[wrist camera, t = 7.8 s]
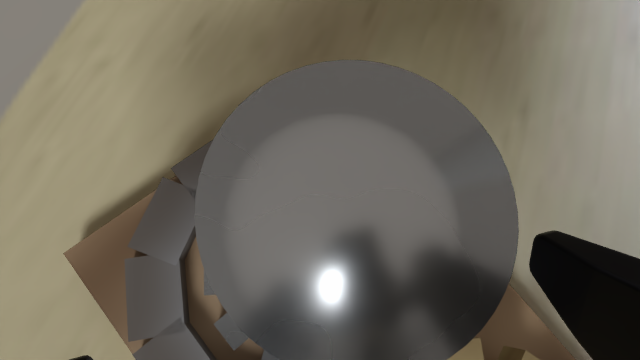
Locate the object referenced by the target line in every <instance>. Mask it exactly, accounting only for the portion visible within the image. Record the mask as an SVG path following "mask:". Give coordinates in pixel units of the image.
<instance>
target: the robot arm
mask: <svg viewBox="0 0 640 360" xmlns="http://www.w3.org/2000/svg"><path fill="white" fill-rule="evenodd" d="M529 266H530V271H531V273H532V275H533V277H534V278H535V280H536V281H537V283H538V284H539V286H540V287H541V289H542V290H543V291H544V293H545V294H546V296H547V297H548V299H549V300H550V302H551V303H552V305H553V306H554V308H555V309H556V311H557V312H558V314H559V315H560V317H561V318H562V320H563V321H564V322H565V324H566V325H567V327H568V328H569V330H570V331H571V332H572V334H573V335H574V337H575V338H576V339H577V340H578V342H579V343H580V344H581V345H582V347H583V348H584V349H585V350H586V352H587V353H588V354H589V355H590V357H591V358H592V359H593V360H640V259H639V258H636V257H633V256H630V255H627V254H624V253H621V252H618V251H615V250H612V249H609V248H606V247H603V246H600V245H597V244H594V243H591V242H589V241H586V240H583V239H580V238H577V237H574V236H571V235H568V234H565V233H562V232H559V231H549V232H545V233H541V234H538V235H536V237H535V238H534V241H533V246H532V251H531V257H530V262H529ZM70 360H93V359H92V358H91V357H90V356H88V355H86V356H81V357H77V358H73V359H70Z"/></svg>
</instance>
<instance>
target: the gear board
mask: <svg viewBox="0 0 640 360" xmlns="http://www.w3.org/2000/svg"><path fill="white" fill-rule="evenodd" d="M212 141H213V140H212ZM212 141H210V142H209V143H207V144H206V145H204V146H203V147H201V148H200V149H198V150H197V151H195V152H194V153H193V154H191V155H190V156H188V157H187V158H185V159H184V160H182V161H181V162H179V163H178V164H176V165H175V166H174V167H172V168H171V169H172V171H173V172H174V173H175V175H176V176H175V177H173V178H172V179H170V180H169V179H166V178H164V177H163V178H162V180H161V182H160V184H159V186H158V188H157V189H156V190H154V191H153V192H152V193H150V194H149V195H147V196H146V197H144V198H143V199H141V200H140V201H138V202H137V203H136V204H134V205H133V206H131V207H130V208H128V209H127V210H125V211H124V212H123V213H121V214H120V215H118V216H117V217H115V218H114V219H112V220H111V221H110V222H108V223H107V224H105V225H104V226H102V227H101V228H99V229H98V230H96V231H95V232H94V233H92V234H91V235H89V236H88V237H86V238H85V239H83V240H82V241H81V242H79V243H78V244H76V245H75V246H73V247H72V248H70V249H69V250H68V251H66V252H65V253H63V254H64V255H65V257H66V258H67V260H68V261H69V262H70V264H71V265H72V267H73V268H74V270H75V271H76V273H77V274H78V276H79V277H80V278H81V280H82V281H83V283H84V284H85V286H86V287H87V289H88V290H89V292H90V293H91V294H92V296H93V297H94V299H95V300H96V302H97V303H98V305H99V306H100V307H101V309H102V310H103V312H104V313H105V315H106V316H107V318H108V319H109V321H110V322H111V323H112V325H113V326H114V328H115V329H116V331H117V332H118V334H119V335H120V337H121V338H122V339H123V341H124V342H125V344H126V345H127V347H128V348H129V350H130V351H131V353H132V355H133V356H134V358H135V359H136V360H261V359H262V356H263V352H264V349H263V348H261V347H260V346H259V345H257V344H256V343H255V342H253V341H252V340H251V339H250V338H248V339H247V340H246V341H245V342H244V343H242V344H241V345H240V346H239V347H238V348H237V349H236V350H233V349H232V348H231V346H230V345H229V344H228V342H227V341H226V340H225V338H224V337H223V336H222V335H221V333H220V332H219V331H218V329H217V328H216V327H215V325H214V323H215V322H217V321H218V320H219V319H220V318H221V317H223V316H224V315H225V314H226V313H227V311H226V310H225V309H224V307H223V306H222V305H221V303H220V301H219V299H218V298H217V296H216V295H204V267H203V265H202V261H201V257H200V253H199V249H198V244H197V240H196V229H195V219H194V218H195V196H196V190H197V185H198V179H199V175H200V172H201V168H202V165H203V162H204V159H205V156H206V154H207V152H208V150H209V148H210V146H211V144H212ZM447 360H576V359H575V358H574V357H573V356H572V355H571V354H570V352H569V351H568V350H567V349H566V348H565V347H564V346H563V345H562V343H561V342H560V341H559V340H558V339H557V338H556V337H555V335H554V334H553V333H552V332H551V331H550V330H549V329H548V327H547V326H546V325H545V324H544V323H543V322H542V321H541V320H540V318H539V317H538V316H537V315H536V314H535V313H534V312H533V310H532V309H531V308H530V307H529V306H528V305H527V304H526V302H525V301H524V300H523V299H522V298H521V297H520V296H519V294H518V293H517V292H516V291H515V290H514V289H513V288H512V287H511V285H510V284H509V283H508V286H507V289H506V292H505V294H504V296H503V298H502V300H501V301H500V303H499V305H498V307H497V309H496V311H495V312H494V314H493V315H492V316H491V318H490V319H489V321H488V322H487V323H486V325H485V326H484V327H483V329H482V330H481V331H480V332H479V333H478V334H477V335H476V336H475V337H474V338H473V339H472V340H471V341H470V342H469V343H468V344H467V345H466V346H465V347H463V348H462V349H461V350H459V351H458V352H457V353H455V354H454V355H453V356H452V357H450V358H449V359H447Z"/></svg>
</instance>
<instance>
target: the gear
mask: <svg viewBox="0 0 640 360" xmlns="http://www.w3.org/2000/svg"><path fill="white" fill-rule="evenodd" d="M194 219H195V229H196V240H197V244H198V249H199V253H200V257H201V261H202V265H203V267H204V295H216V296H217V298H218V299H219V301H220V303H221V305H222V306H223V307H224V309H225V310H226V311H227V313H226V314H225V315H224V316H223V317H221V318H220V319H219V320H218V321H217V322H215V323H214V325H215V327H216V328H217V329H218V331H219V332H220V333H221V335H222V336H223V337H224V338H225V340H226V341H227V342H228V344H229V345H230V346H231V348H232V349H233V350H236V349H237V348H238V347H239V346H240V345H241V344H242V343H244V342H245V341H246V340H247V339H248V338H250V339H251V340H252V341H253V342H255V343H256V344H257V345H259V346H260V347H261V348H263V349H264V352H263V356H262V359H261V360H447V359H449V358H450V357H452V356H453V355H454V354H455V353H457V352H458V351H459V350H461V349H462V348H463V347H465V346H466V345H467V344H468V343H469V342H470V341H471V340H472V339H473V338H474V337H475V336H476V335H477V334H478V333H479V332H480V331H481V330H482V329H483V327H484V326H485V325H486V323H487V322H488V321H489V319H490V318H491V316H492V315H493V314H494V312H495V311H496V309H497V307H498V305H499V303H500V301H501V300H502V298H503V296H504V294H505V292H506V289H507V286H508V283H509V281H510V278H511V275H512V272H513V268H514V263H515V259H516V254H517V244H518V233H519V231H518V211H517V205H516V199H515V193H514V189H513V186H512V182H511V179H510V176H509V172H508V170H507V168H506V165H505V163H504V161H503V159H502V156H501V154H500V152H499V151H498V149H497V147H496V145H495V144H494V142H493V140H492V138H491V137H490V135H489V134H488V133H487V131H486V130H485V129H484V127H483V126H482V125H481V123H480V122H479V121H478V120H477V119H476V118H475V117H474V115H473V114H472V113H471V112H470V111H469V110H468V109H467V108H466V107H465V106H464V105H463V104H461V103H460V102H459V101H458V100H457V99H456V98H454V97H453V96H452V95H451V94H449V93H448V92H446V91H445V90H443V89H442V88H441V87H439V86H438V85H436V84H435V83H433V82H431V81H429V80H427V79H425V78H423V77H421V76H419V75H417V74H415V73H412V72H409V71H407V70H404V69H401V68H399V67H395V66H391V65H387V64H383V63H378V62H370V61H363V60H337V61H327V62H321V63H316V64H312V65H307V66H304V67H301V68H298V69H295V70H292V71H290V72H287V73H285V74H283V75H281V76H279V77H277V78H275V79H273V80H271V81H269V82H268V83H266V84H265V85H263V86H262V87H260V88H259V89H257V90H256V91H254V92H253V93H252V94H251V95H250V96H249V97H247V98H246V99H245V100H244V101H243V102H242V103H241V104H240V105H239V106H238V107H237V108H236V109H235V110H234V111H233V112H232V114H231V115H230V116H229V117H228V118H227V119H226V121H225V122H224V124H223V125H222V127H221V128H220V130H219V131H218V133H217V134H216V136H215V137H214V139H213V141H212V144H211V146H210V148H209V150H208V152H207V154H206V156H205V159H204V162H203V165H202V168H201V172H200V175H199V179H198V185H197V190H196V196H195V218H194Z"/></svg>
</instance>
